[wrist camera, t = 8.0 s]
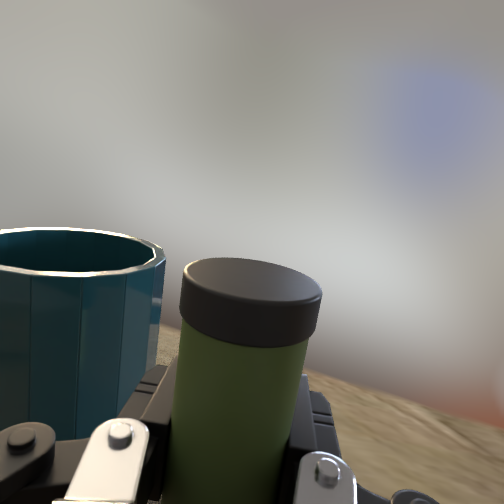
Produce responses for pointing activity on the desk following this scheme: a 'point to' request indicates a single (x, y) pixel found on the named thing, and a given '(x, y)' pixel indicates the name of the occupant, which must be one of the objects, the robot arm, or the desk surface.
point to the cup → (75, 325)
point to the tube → (236, 379)
